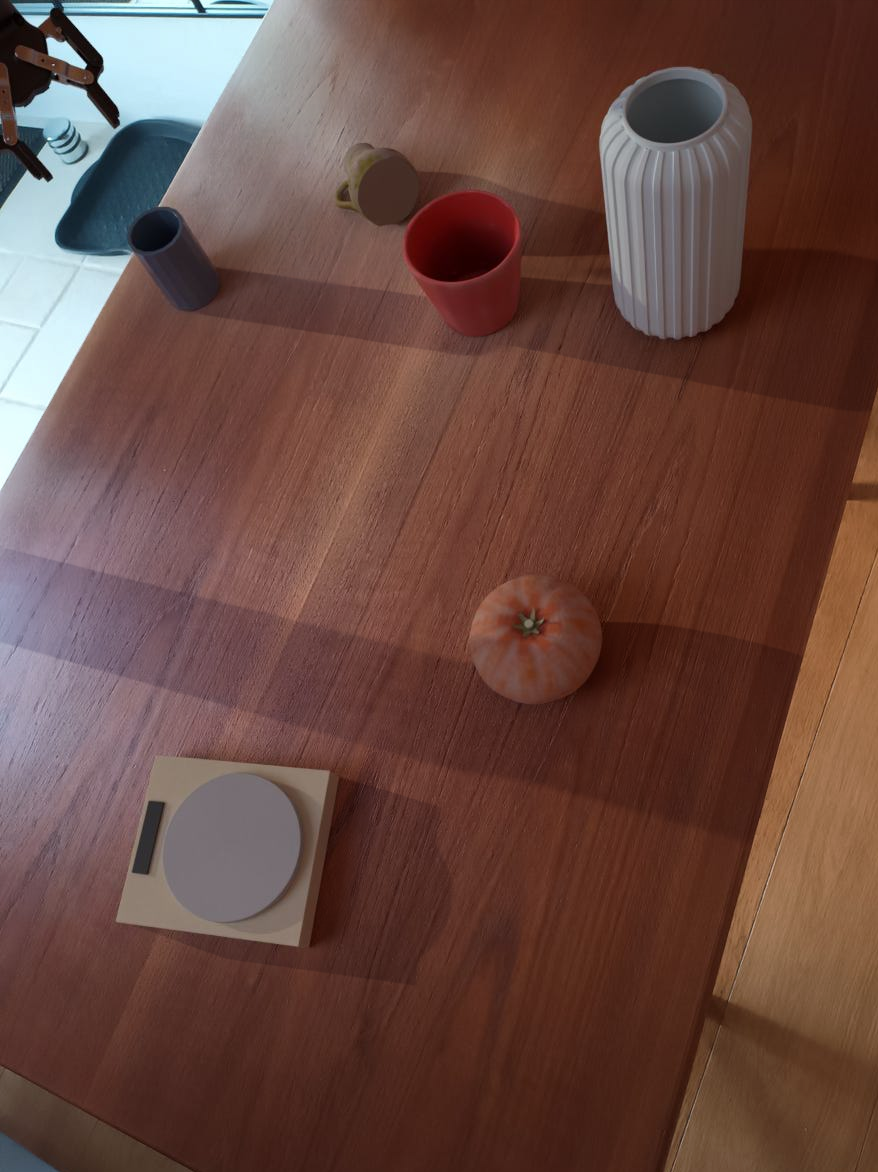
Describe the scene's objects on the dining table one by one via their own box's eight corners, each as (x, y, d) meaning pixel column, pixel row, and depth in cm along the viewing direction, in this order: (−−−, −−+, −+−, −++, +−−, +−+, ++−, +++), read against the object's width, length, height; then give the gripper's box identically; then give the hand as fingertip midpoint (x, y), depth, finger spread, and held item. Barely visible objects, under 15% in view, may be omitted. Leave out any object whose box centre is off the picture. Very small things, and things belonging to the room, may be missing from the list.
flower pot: (516, 359, 95) (499, 291, 86) (412, 341, 98) (385, 274, 89) (549, 270, 98) (536, 195, 89) (447, 255, 101) (424, 182, 92)
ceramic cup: (162, 311, 105) (120, 255, 98) (174, 265, 107) (135, 207, 99) (213, 310, 104) (175, 254, 96) (225, 264, 106) (189, 205, 98)
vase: (757, 326, 91) (779, 129, 70) (639, 370, 92) (626, 188, 71) (711, 236, 95) (719, 26, 75) (598, 279, 96) (576, 82, 76)
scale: (130, 924, 83) (110, 921, 80) (168, 760, 87) (150, 752, 84) (309, 948, 79) (294, 946, 76) (339, 776, 84) (327, 768, 81)
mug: (384, 150, 108) (397, 99, 98) (416, 235, 108) (433, 193, 98) (319, 168, 106) (327, 118, 96) (353, 254, 106) (363, 213, 97)
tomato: (617, 700, 81) (611, 670, 74) (490, 728, 82) (471, 700, 75) (590, 583, 85) (582, 543, 78) (469, 611, 86) (450, 574, 79)
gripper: (-119, 27, 87) (24, 190, 93) (8, -70, 88) (140, 96, 94) (-101, 55, 94) (31, 204, 100) (16, -36, 95) (139, 117, 101)
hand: (84, 151), depth 97 cm, fingers open, 8 cm apart
